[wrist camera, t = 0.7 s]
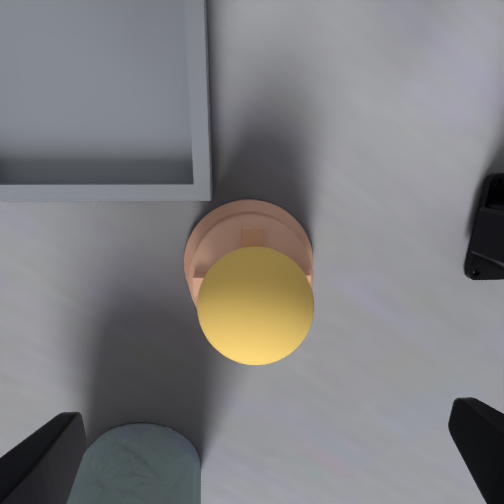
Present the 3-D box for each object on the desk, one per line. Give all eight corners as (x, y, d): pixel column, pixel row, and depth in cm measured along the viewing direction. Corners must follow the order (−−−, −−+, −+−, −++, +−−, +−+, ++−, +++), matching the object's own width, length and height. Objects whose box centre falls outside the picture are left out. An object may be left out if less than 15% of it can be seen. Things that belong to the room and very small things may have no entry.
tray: (204, -76, 14) (199, -115, 12) (213, 195, 17) (210, 201, 15) (-83, -90, 13) (-141, -136, 11) (-11, 196, 16) (-45, 202, 14)
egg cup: (314, 198, 18) (334, 209, 14) (306, 316, 20) (322, 349, 16) (181, 199, 17) (168, 210, 14) (188, 319, 19) (179, 354, 16)
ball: (302, 233, 15) (335, 268, 10) (297, 323, 17) (324, 390, 12) (200, 234, 15) (185, 271, 10) (204, 325, 16) (193, 395, 12)
